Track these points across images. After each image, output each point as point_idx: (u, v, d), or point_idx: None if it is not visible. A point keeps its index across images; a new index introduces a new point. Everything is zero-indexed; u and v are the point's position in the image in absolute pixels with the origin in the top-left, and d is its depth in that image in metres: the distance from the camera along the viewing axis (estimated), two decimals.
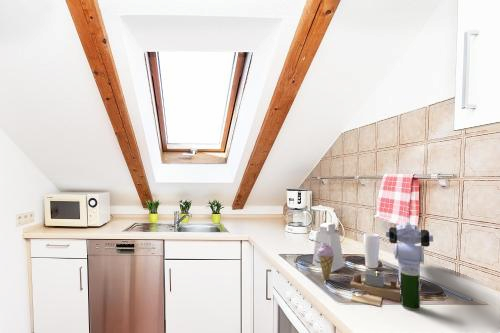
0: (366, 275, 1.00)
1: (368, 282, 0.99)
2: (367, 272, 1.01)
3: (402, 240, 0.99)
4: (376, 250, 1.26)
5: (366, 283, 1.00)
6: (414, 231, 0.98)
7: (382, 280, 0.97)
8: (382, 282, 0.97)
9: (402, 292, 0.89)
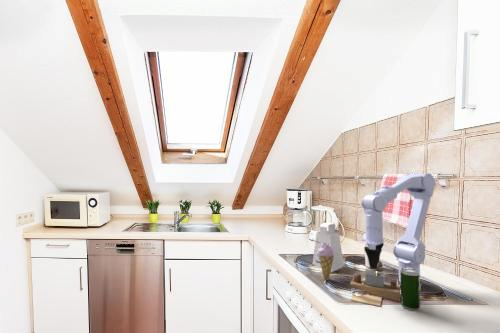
0: (366, 275, 1.00)
1: (368, 282, 0.99)
2: (367, 272, 1.01)
3: None
4: None
5: (366, 283, 1.00)
6: None
7: (382, 280, 0.97)
8: (382, 282, 0.97)
9: (402, 292, 0.89)
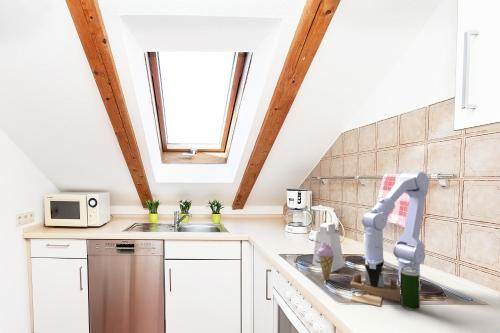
0: (366, 275, 1.00)
1: (368, 282, 0.99)
2: (367, 272, 1.01)
3: None
4: None
5: (366, 283, 1.00)
6: None
7: (382, 280, 0.97)
8: (382, 282, 0.97)
9: (402, 292, 0.89)
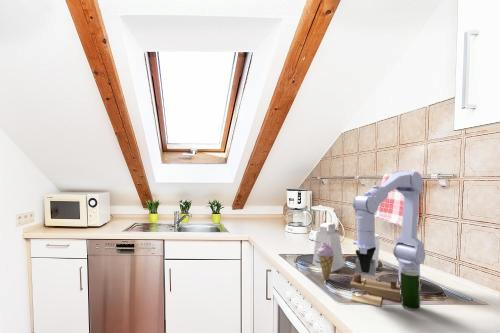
0: (356, 262, 0.94)
1: (358, 270, 0.94)
2: (357, 259, 0.96)
3: None
4: (376, 250, 1.26)
5: (356, 271, 0.94)
6: None
7: (373, 267, 0.92)
8: (373, 269, 0.92)
9: (402, 292, 0.89)
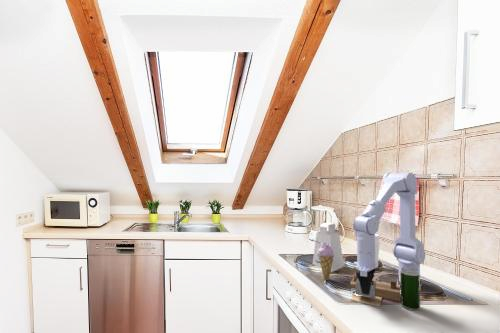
0: (357, 284, 0.94)
1: (358, 291, 0.94)
2: (358, 280, 0.96)
3: None
4: (376, 250, 1.26)
5: (357, 292, 0.94)
6: None
7: (373, 289, 0.92)
8: (373, 291, 0.92)
9: (402, 292, 0.89)
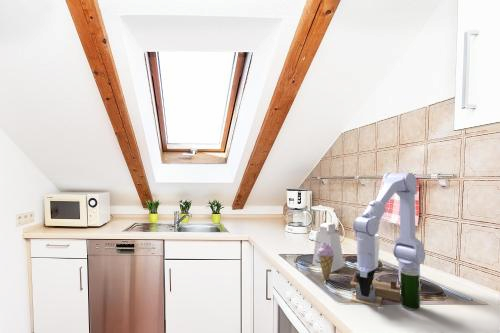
0: (357, 288, 0.94)
1: (358, 296, 0.94)
2: (358, 285, 0.96)
3: None
4: (376, 250, 1.26)
5: (357, 297, 0.94)
6: None
7: (373, 294, 0.92)
8: (373, 296, 0.91)
9: (402, 292, 0.89)
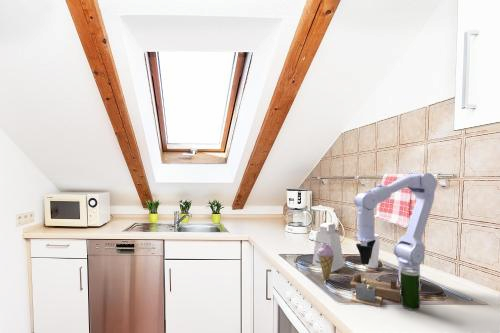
0: (357, 288, 0.94)
1: (358, 296, 0.94)
2: (358, 285, 0.96)
3: None
4: (376, 250, 1.26)
5: (357, 297, 0.94)
6: None
7: (373, 294, 0.92)
8: (373, 296, 0.91)
9: (402, 292, 0.89)
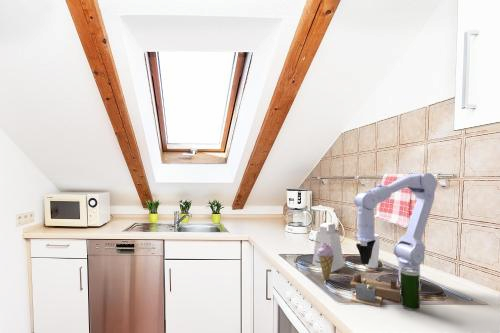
0: (357, 288, 0.94)
1: (358, 296, 0.94)
2: (358, 285, 0.96)
3: None
4: (376, 250, 1.26)
5: (357, 297, 0.94)
6: None
7: (373, 294, 0.92)
8: (373, 296, 0.91)
9: (402, 292, 0.89)
